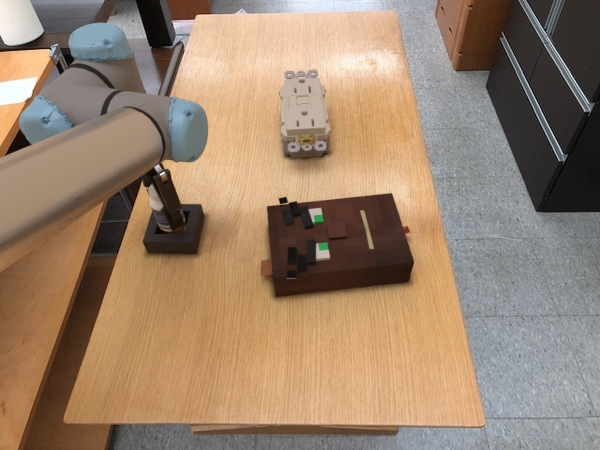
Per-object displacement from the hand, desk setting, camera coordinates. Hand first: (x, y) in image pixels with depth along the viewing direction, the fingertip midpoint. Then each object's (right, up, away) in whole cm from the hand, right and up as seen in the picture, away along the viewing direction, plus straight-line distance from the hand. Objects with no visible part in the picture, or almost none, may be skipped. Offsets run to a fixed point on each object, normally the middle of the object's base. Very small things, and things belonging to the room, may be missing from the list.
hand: (170, 217), depth 89 cm
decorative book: (+33, -7, 0) cm, 34 cm away
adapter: (0, -3, +4) cm, 6 cm away
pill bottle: (0, -1, +1) cm, 2 cm away
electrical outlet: (+27, +21, +23) cm, 42 cm away
